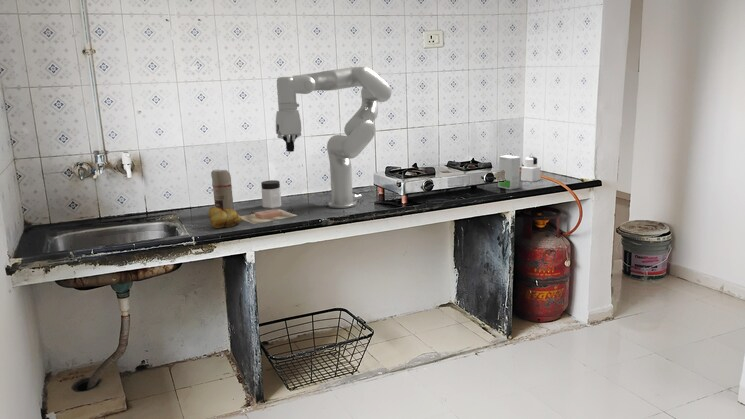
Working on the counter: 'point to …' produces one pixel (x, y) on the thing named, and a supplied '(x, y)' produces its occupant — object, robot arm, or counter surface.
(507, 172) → the skincare box
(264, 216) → the tile
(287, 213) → the packaged sliced meat
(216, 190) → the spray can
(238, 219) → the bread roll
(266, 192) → the jar
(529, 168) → the medicine bottle
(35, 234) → the counter surface
